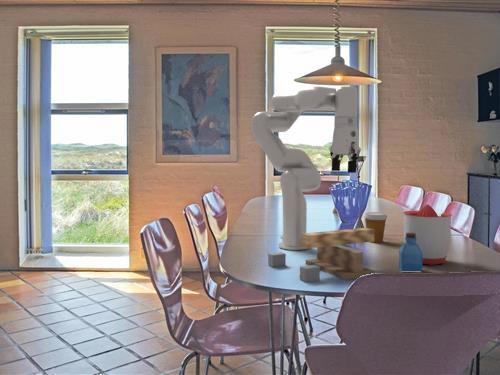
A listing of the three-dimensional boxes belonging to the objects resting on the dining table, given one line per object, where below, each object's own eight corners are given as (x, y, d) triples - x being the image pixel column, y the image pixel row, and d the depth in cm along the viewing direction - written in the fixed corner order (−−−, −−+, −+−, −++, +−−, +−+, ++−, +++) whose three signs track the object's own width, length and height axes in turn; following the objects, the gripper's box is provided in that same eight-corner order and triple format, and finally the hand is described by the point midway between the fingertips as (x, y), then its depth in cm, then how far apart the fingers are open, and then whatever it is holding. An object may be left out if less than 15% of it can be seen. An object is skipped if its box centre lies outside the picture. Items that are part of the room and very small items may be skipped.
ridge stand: (305, 264, 158) (305, 239, 157) (332, 260, 162) (332, 236, 162) (346, 280, 138) (346, 251, 137) (374, 275, 143) (375, 248, 142)
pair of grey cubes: (268, 265, 156) (268, 253, 156) (281, 263, 159) (281, 252, 158) (305, 282, 136) (305, 268, 136) (319, 280, 138) (319, 266, 138)
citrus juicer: (460, 260, 162) (461, 203, 161) (438, 269, 150) (440, 208, 149) (417, 253, 174) (418, 200, 172) (394, 261, 161) (395, 204, 160)
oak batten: (366, 239, 157) (366, 227, 157) (374, 241, 154) (374, 229, 153) (301, 246, 146) (301, 233, 145) (308, 248, 142) (308, 235, 142)
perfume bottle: (422, 273, 146) (422, 235, 145) (401, 272, 147) (402, 235, 146) (418, 268, 152) (419, 232, 151) (398, 267, 153) (399, 231, 152)
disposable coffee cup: (389, 243, 193) (390, 215, 192) (366, 243, 193) (367, 215, 192) (382, 239, 202) (383, 212, 202) (361, 239, 202) (361, 212, 202)
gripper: (369, 122, 156) (367, 173, 157) (340, 123, 171) (338, 170, 173) (351, 121, 153) (349, 173, 154) (322, 123, 168) (321, 170, 170)
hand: (343, 171), depth 164 cm, fingers open, 9 cm apart
